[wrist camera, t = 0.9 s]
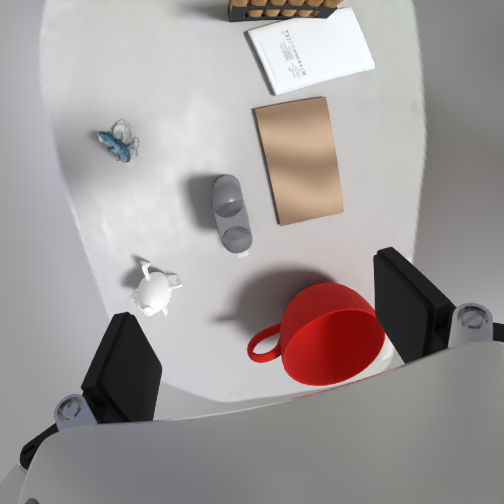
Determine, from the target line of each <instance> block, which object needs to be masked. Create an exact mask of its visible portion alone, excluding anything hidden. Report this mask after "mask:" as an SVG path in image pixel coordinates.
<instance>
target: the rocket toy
mask: <svg viewBox="0 0 504 504" xmlns="http://www.w3.org/2000/svg"><path fill="white" fill-rule="evenodd" d="M150 264H151V263H147V264H144V265H142V270H143V272H144V275H145V277H144V278H143V279H142V281H141V282H140V284H139V287H138V288H137V289H136V290H135V291H134V292H133V293H132V294H131V295H130V297H129V299H135V298H137V299H136V300H135V305H136V307H137V308H138V309H139V310H142V311H143V312H144V314H145V315H147V316H151V315H153V314H154V313H157V312H159V311H160V310H163V312H164V314H165V315H167V304H168V302H169V300H170V298H171V293H172V289H174V288H178V287H181V286H182V285H183V283H182V281H181V279H180V278H179V276H178V275H176V279H177V281H176V283H174V284H171V283H170V281H169V279H168V277H167V276H166V275H165V274H163V273H161V272H152V273H148V267H149V266H150ZM137 292H138V293H137Z"/></svg>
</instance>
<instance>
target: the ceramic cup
mask: <svg viewBox="0 0 504 504" xmlns="http://www.w3.org/2000/svg"><path fill="white" fill-rule="evenodd" d="M279 332H280V338H279V341H278V344H277V345H276V347H275V348H274V349H272V350H271V351H269V352H267V353H264V354H256V353H254V352H253V350H254V348H255V346H256V345H257V344H258V343H259V342H260V341H262V340H264V339H265V338H267V337H270V336H272V335H274V334H277V333H279ZM384 340H385V332H384V330H383V328H382V327H381V325H380V324H379V322H378V321H377V319H376V315H375V310H374V309H373V308H372V307H371V305H370V304H369V303H368V302H367V301H366V300H365V299H364V298H363V297H362V296H361V295H359V294H358V293H357V292H356V291H354V290H352V289H350V288H348V287H346V286H344V285H340V284H336V283H319V284H315V285H312V286H310V287H307V288H305V289H304V290H302V291H301V292H299V293H298V294H297V295H296V296H295V297H294V298H293V299H292V301H291V302H290V303H289V305H288V306H287V308H286V310H285V312H284V315H283V318H282V322H281V323H279V324H276V325H274V326H271V327H269V328H267V329H265V330H263V331H261V332H259V333H258V334H256V335H255V336H254V337H253V338H252V339H251V340H250V342H249V344H248V347H247V352H248V356H249V357H250V359H251V360H253V361H255V362H258V363H263V362H268V361H271V360H273V359H275V358H277V357H279V356H280V355H281V356H282V362H283V365H284V369H285V370H286V372H287V373H288V375H289V376H290V377H292V378H293V379H294V380H296V381H298V382H300V383H302V384H306V385H313V386H326V385H331V384H336V383H339V382H342V381H345V380H347V379H349V378H352V377H354V376H355V375H357V374H359V373H360V372H362V371H363V370H364V369H366V368H367V367H368V366H369V365H370V364H371V363H372V362H373V361H374V360H375V358H376V357H377V356H378V354H379V353H380V351H381V349H382V347H383V344H384Z"/></svg>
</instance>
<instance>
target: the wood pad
mask: <svg viewBox="0 0 504 504" xmlns="http://www.w3.org/2000/svg"><path fill="white" fill-rule="evenodd" d="M254 110H255V114H256V118H257V122H258V127H259V131H260V135H261V140H262V144H263V148H264V153H265V157H266V162H267V166H268V171H269V175H270V180H271V185H272V189H273V194H274V198H275V203H276V208H277V213H278V218H279V222H280V226H284V225H289V224H293V223H297V222H301V221H306V220H310V219H314V218H319V217H323V216H327V215H332V214H336V213H340V212H344V209H343V201H342V193H341V185H340V178H339V171H338V164H337V157H336V151H335V145H334V139H333V133H332V127H331V122H330V117H329V111H328V106H327V101H326V97H321V98H314V99H307V100H301V101H295V102H289V103H284V104H278V105H273V106H268V107H263V108H258V109H254Z"/></svg>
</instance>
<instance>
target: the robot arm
mask: <svg viewBox="0 0 504 504" xmlns="http://www.w3.org/2000/svg"><path fill="white" fill-rule="evenodd" d="M373 262H374V286H375V315H376V319H377V321H378V322H379V324H380V325H381V327H382V328H383V330H384V332H385V333H386V335H387V336H388V338H389V339H390V341H391V342H392V344H393V345H394V347H395V349H396V350H397V352H398V353H399V355H400V356H401V358H402V360H403V361H404V363H405V364H404V365H401V366H399V367H396V368H394V369H390V370H388V371H385V372H382V373H379V374H376V375H373V376H370V377H367V378H364V379H361V380H358V381H355V382H351V383H348V384H345V385H342V386H338V387H335V388H331V389H328V390H324V391H321V392H317V393H313V394H309V395H305V396H301V397H297V398H293V399H289V400H285V401H280V402H276V403H271V404H266V405H262V406H256V407H251V408H246V409H240V410H235V411H229V412H223V413H216V414H209V415H202V416H194V417H186V418H177V419H167V420H155V421H153V417H154V411H155V406H156V400H157V395H158V390H159V385H160V379H161V374H162V366H161V363H160V361H159V360H158V358H157V356H156V354H155V353H154V351H153V349H152V347H151V345H150V344H149V342H148V340H147V338H146V336H145V334H144V333H143V331H142V329H141V327H140V325H139V323H138V321H137V319H136V317H135V316H134V315H131V314H130V313H129V312H124V313H119V314H115V315H114V316H113V318H112V320H111V322H110V324H109V326H108V328H107V330H106V332H105V334H104V336H103V339H102V341H101V343H100V345H99V347H98V349H97V351H96V354H95V356H94V358H93V360H92V363H91V365H90V367H89V370H88V372H87V374H86V376H85V379H84V381H83V383H82V386H81V389H82V390H83V391H84V392H83V394H82V395H79V394H72V395H69V396H67V397H65V398H63V399H62V400H61V401H60V402H59V403H58V405H57V406H56V408H55V411H54V418H55V421H56V423H55V424H53V425H52V426H51V427H49V428H48V429H47V430H45V431H44V432H42V433H41V434H40V435H38V436H37V437H36V438H34V439H33V440H31V441H30V442H28V443H27V444H26V445H25V446H24V447H23V449H22V451H21V454H20V463H21V465H20V466H19V465H18V464H16V466H15V467H14V468H13V469H12V470H11V471H10V472H9V474H8V475H7V476H6V477H5V478H4V480H3V481H2V482H1V483H0V504H504V324H499V323H493V318H492V314H491V313H490V311H489V310H488V309H486V308H485V307H484V306H482V305H479V304H475V303H466V304H462V305H460V306H459V307H455V305H454V304H453V303H452V302H451V301H450V300H449V299H448V298H447V297H446V296H445V295H444V294H443V293H442V292H441V291H440V290H439V289H438V288H437V287H436V286H435V285H434V284H433V283H431V282H430V281H429V280H428V279H427V278H426V277H425V276H424V275H423V274H422V273H421V272H420V271H419V270H418V269H416V268H415V267H414V266H413V265H412V264H411V263H410V262H409V261H408V260H407V259H405V258H404V257H403V256H402V255H401V254H400V253H399V252H398V251H396V250H395V249H394V248H393V247H388V248H385V249H381V250H378V251H377V255H374V257H373Z"/></svg>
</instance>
